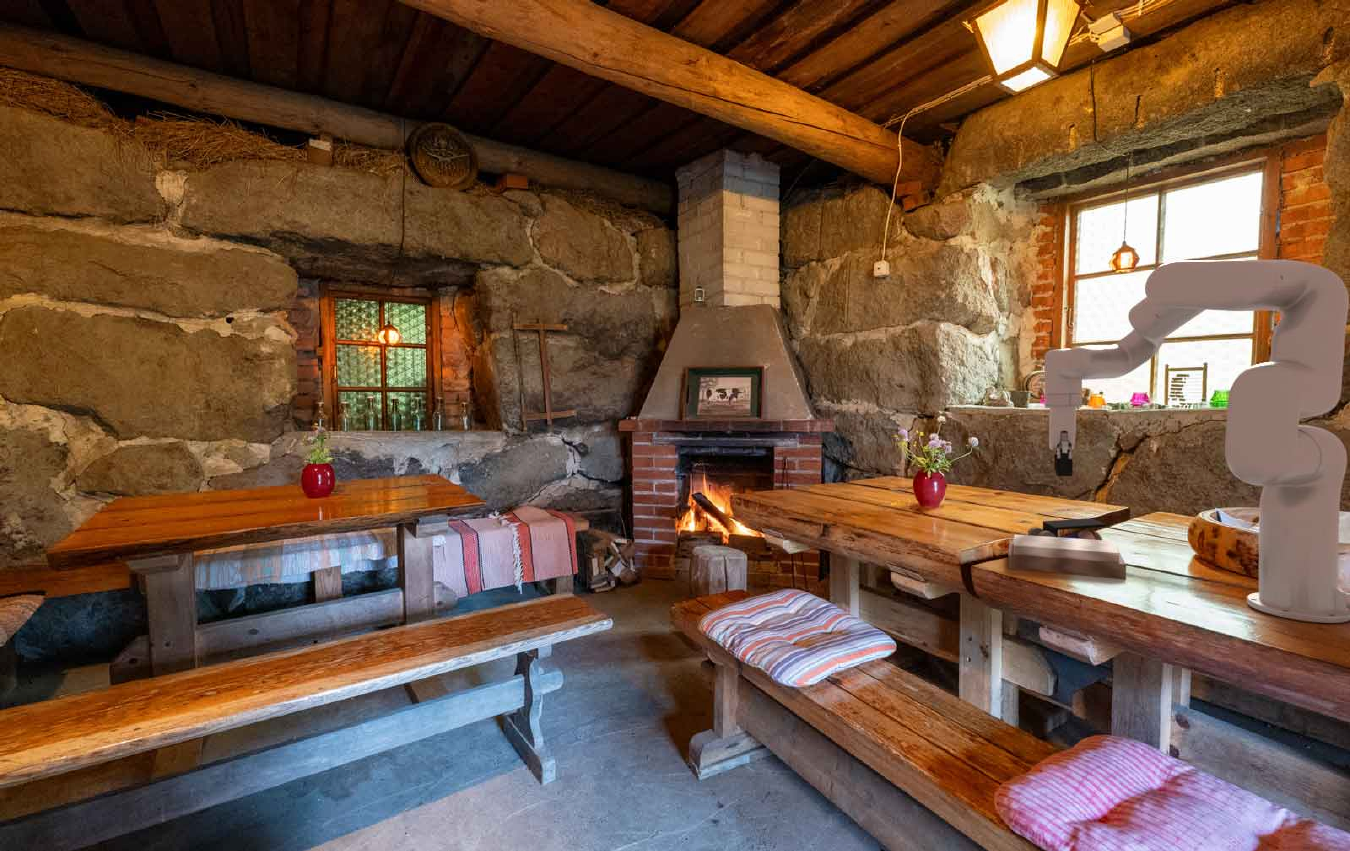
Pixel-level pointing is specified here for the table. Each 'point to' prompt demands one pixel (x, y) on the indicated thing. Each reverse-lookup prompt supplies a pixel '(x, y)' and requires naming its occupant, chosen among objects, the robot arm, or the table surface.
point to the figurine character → (1053, 526)
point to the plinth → (1067, 565)
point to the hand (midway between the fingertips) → (1063, 472)
